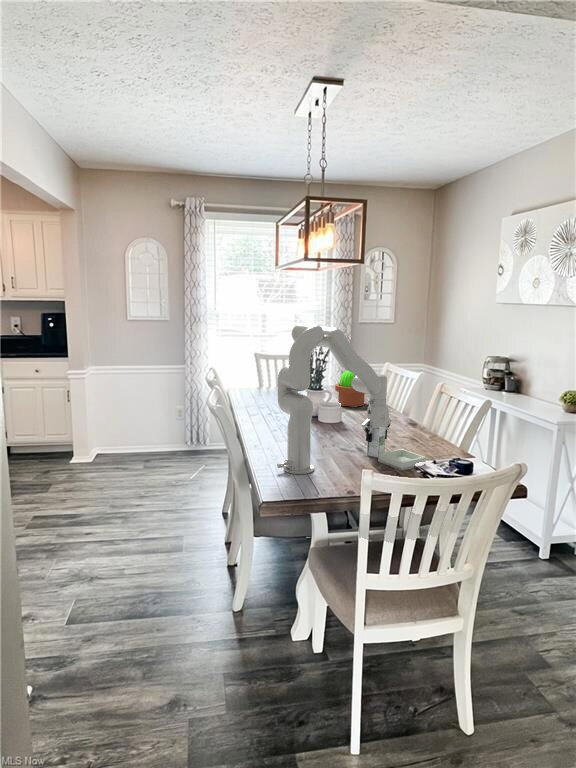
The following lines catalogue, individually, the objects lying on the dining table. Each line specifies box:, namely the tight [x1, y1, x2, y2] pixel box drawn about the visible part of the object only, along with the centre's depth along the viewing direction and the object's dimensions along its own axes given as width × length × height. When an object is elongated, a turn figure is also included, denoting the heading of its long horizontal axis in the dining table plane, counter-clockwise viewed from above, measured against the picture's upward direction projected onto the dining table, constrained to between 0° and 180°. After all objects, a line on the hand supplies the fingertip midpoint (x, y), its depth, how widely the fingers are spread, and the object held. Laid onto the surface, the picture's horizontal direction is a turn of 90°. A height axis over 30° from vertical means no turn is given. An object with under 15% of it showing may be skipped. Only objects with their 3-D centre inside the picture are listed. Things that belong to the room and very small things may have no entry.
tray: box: [378, 448, 427, 472], centre depth 205 cm, size 14×14×4 cm
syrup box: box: [366, 426, 386, 459], centre depth 215 cm, size 6×6×14 cm
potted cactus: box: [334, 370, 366, 407], centre depth 321 cm, size 22×22×25 cm
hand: (376, 439), depth 215 cm, fingers open, 8 cm apart
